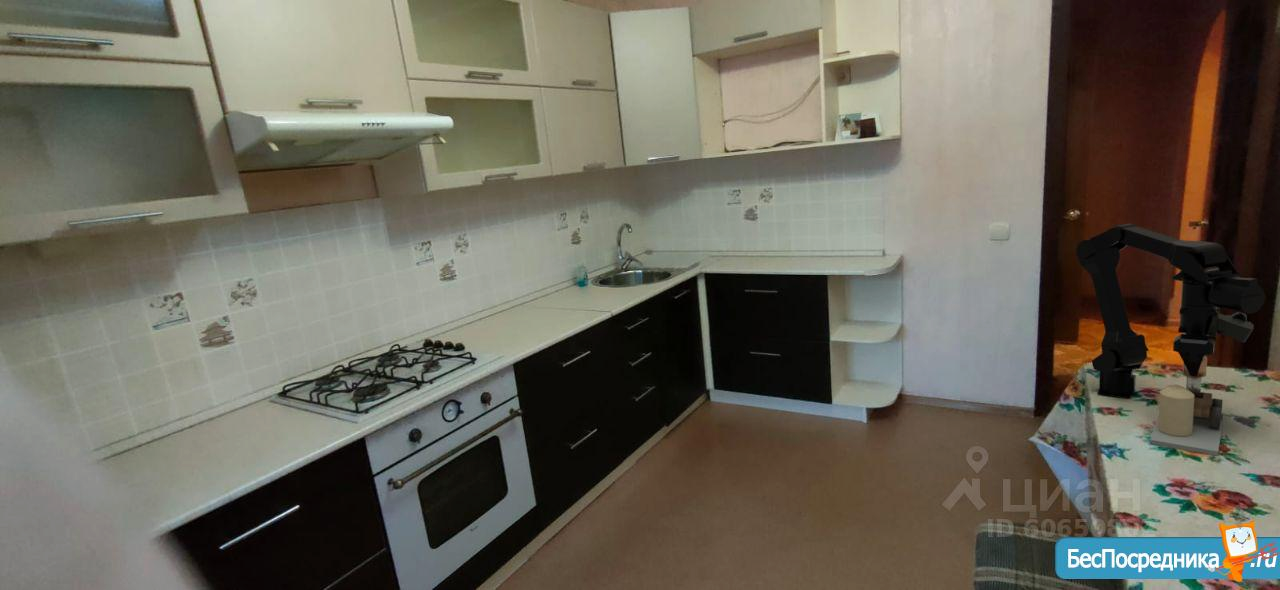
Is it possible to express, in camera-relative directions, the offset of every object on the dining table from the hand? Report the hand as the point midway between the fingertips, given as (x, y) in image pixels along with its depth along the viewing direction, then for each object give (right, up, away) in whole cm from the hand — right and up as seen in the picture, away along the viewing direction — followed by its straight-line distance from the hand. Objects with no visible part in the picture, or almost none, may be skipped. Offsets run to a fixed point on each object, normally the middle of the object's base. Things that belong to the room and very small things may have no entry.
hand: (1194, 372), depth 135 cm
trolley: (+1, -11, +1) cm, 11 cm away
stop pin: (+1, -5, +1) cm, 5 cm away
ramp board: (-3, -13, -2) cm, 13 cm away
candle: (-7, -12, -3) cm, 14 cm away
